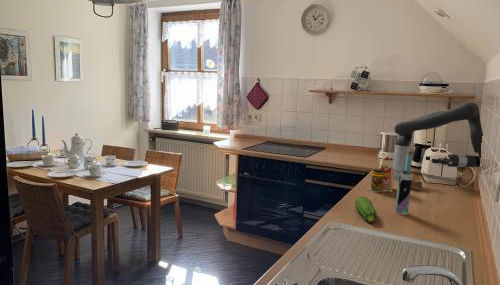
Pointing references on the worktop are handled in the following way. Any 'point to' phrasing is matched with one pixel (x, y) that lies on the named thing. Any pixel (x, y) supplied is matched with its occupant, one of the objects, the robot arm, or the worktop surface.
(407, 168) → the light blue flat panel
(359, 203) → the vegetable
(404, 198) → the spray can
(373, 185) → the condiment
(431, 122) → the robot arm
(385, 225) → the worktop surface
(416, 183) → the socket
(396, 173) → the sleeve
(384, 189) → the milk carton
